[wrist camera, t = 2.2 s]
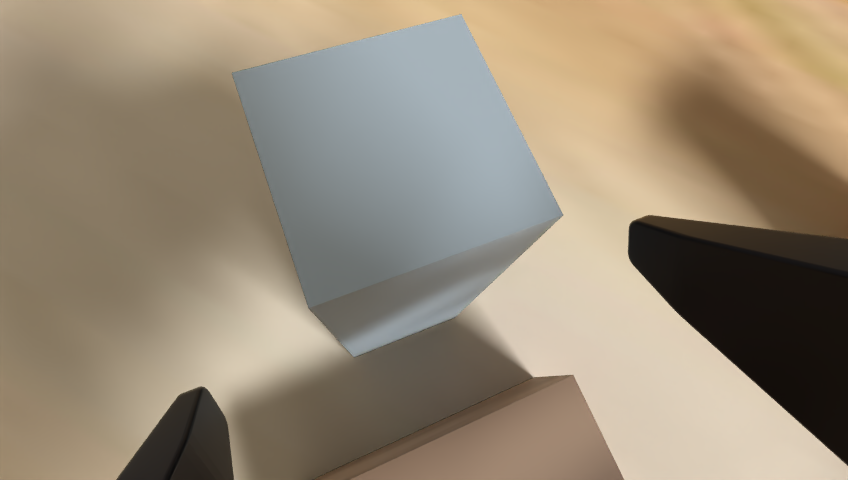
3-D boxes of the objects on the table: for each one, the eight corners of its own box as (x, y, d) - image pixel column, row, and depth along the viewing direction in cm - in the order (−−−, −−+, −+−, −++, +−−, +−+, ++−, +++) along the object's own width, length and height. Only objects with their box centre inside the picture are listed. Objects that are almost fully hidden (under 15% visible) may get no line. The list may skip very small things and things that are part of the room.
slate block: (454, 317, 19) (563, 215, 8) (354, 357, 18) (308, 308, 7) (416, 224, 20) (461, 14, 9) (319, 257, 19) (231, 72, 8)
